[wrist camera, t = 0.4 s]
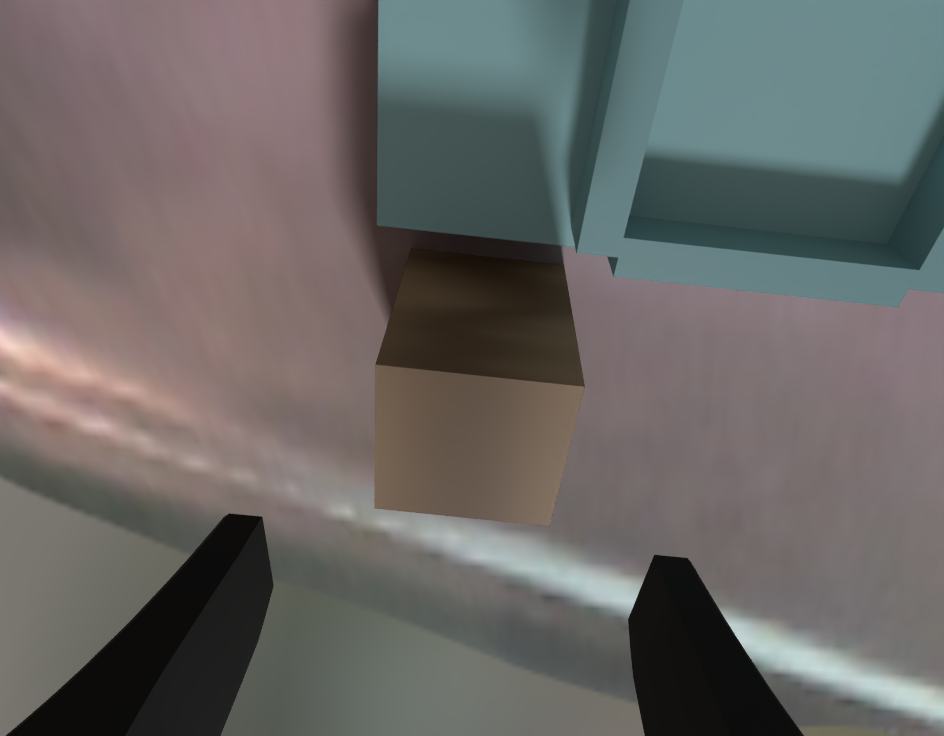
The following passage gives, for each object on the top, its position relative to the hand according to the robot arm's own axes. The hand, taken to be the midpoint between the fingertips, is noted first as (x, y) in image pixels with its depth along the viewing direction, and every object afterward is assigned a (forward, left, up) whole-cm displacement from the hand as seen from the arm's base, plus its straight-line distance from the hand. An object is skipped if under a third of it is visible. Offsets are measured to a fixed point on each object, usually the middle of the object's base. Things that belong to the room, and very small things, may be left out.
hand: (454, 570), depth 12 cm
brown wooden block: (0, 0, -9) cm, 9 cm away
